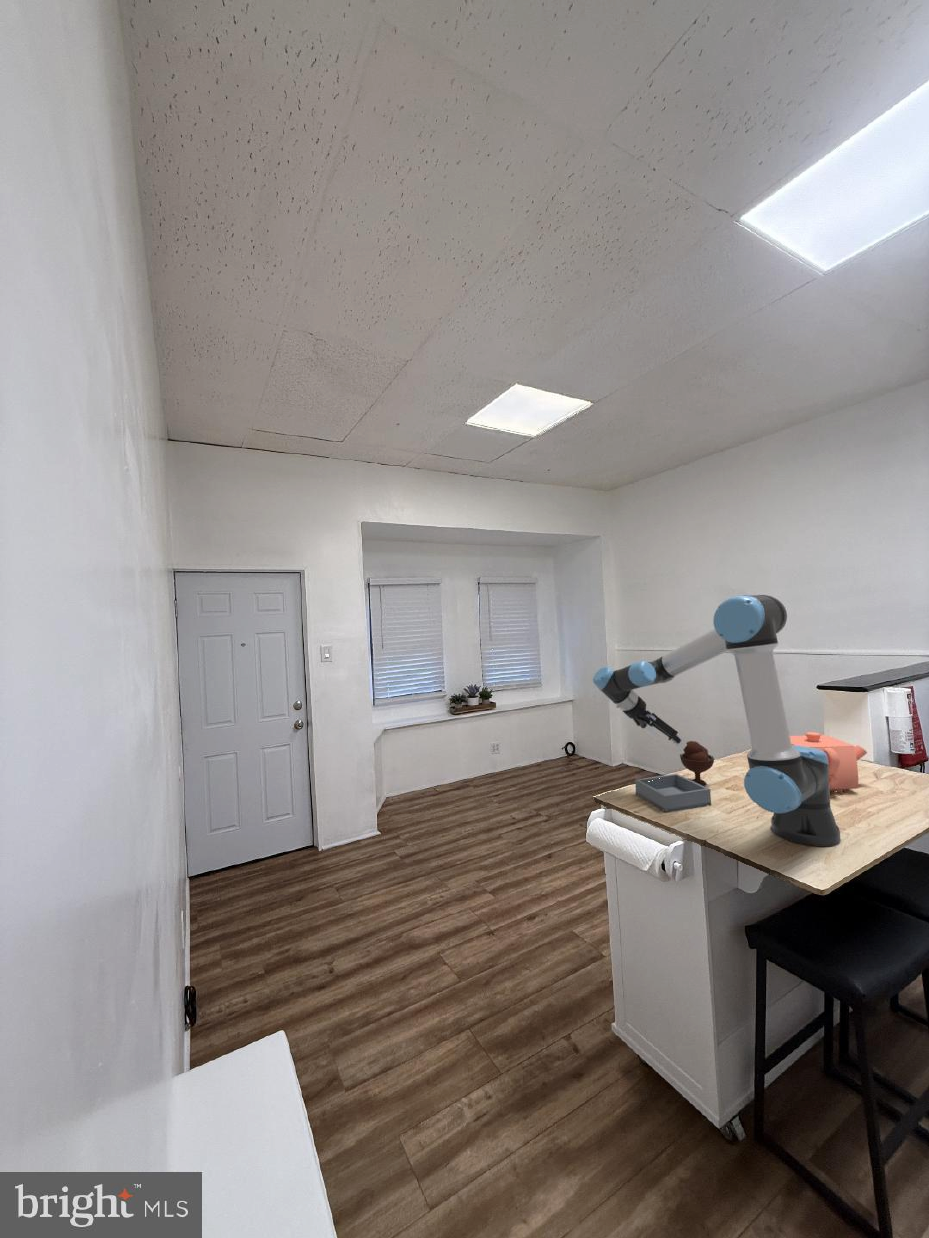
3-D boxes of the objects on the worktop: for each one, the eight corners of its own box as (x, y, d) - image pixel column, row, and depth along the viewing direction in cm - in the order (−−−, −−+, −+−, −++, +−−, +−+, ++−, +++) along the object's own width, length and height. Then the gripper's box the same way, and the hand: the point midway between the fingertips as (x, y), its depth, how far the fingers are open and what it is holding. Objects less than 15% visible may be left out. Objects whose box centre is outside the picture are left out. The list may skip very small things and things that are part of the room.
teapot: (844, 773, 171) (841, 723, 171) (894, 798, 148) (891, 740, 148) (769, 775, 173) (766, 725, 173) (807, 799, 151) (804, 742, 151)
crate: (711, 805, 151) (710, 789, 151) (666, 812, 147) (665, 796, 147) (677, 788, 166) (676, 773, 166) (635, 794, 163) (635, 779, 163)
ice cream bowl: (712, 791, 162) (710, 746, 162) (677, 785, 168) (674, 742, 168) (718, 781, 170) (716, 739, 170) (684, 776, 177) (682, 735, 177)
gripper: (604, 705, 176) (643, 742, 179) (645, 718, 151) (689, 761, 155) (616, 689, 177) (655, 726, 180) (659, 700, 152) (702, 742, 156)
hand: (670, 742), depth 168 cm, fingers open, 13 cm apart
